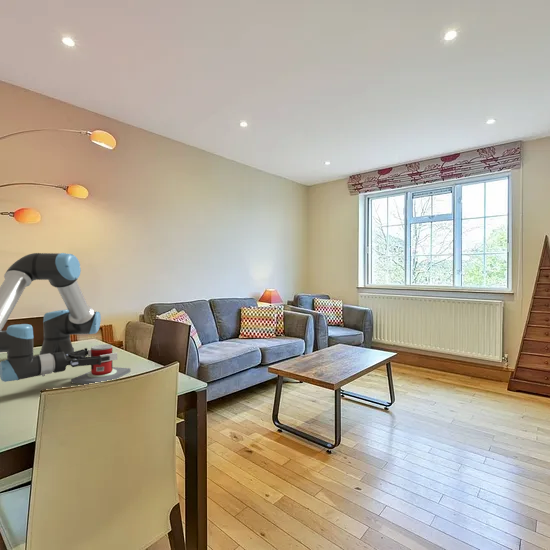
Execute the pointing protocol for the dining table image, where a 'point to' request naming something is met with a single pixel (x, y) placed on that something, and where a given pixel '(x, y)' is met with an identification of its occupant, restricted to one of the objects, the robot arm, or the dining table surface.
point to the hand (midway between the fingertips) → (110, 353)
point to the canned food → (105, 366)
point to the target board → (101, 376)
